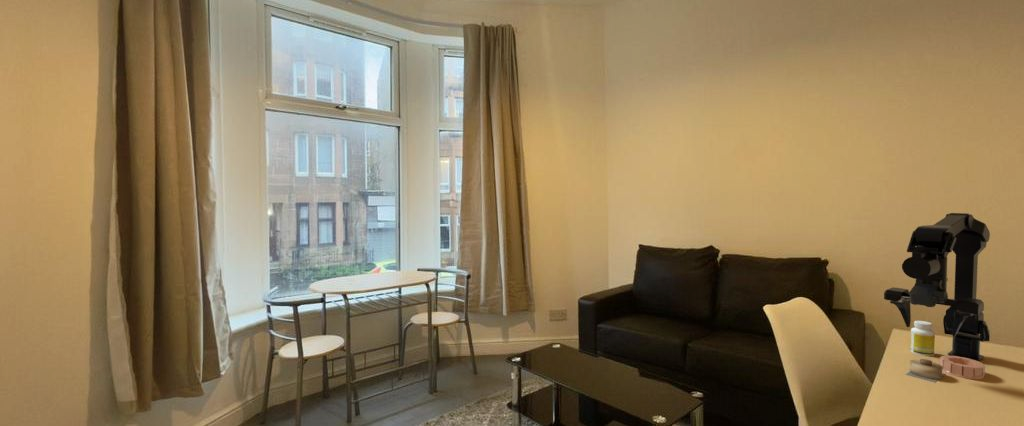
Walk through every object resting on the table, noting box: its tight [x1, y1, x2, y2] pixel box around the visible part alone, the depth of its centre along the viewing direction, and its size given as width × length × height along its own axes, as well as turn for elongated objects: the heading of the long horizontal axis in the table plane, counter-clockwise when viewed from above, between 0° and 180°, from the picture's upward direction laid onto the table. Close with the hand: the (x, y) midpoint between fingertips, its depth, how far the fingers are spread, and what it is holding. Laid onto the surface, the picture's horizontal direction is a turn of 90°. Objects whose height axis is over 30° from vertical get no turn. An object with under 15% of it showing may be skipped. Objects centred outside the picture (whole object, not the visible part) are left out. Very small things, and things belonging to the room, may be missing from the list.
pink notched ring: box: [939, 355, 986, 380], centre depth 121 cm, size 8×8×4 cm
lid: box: [909, 358, 943, 380], centre depth 120 cm, size 6×6×4 cm
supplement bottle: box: [909, 320, 936, 357], centre depth 135 cm, size 5×5×10 cm
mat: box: [905, 371, 947, 383], centre depth 120 cm, size 9×6×1 cm, turn 122°
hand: (930, 331), depth 118 cm, fingers open, 9 cm apart
